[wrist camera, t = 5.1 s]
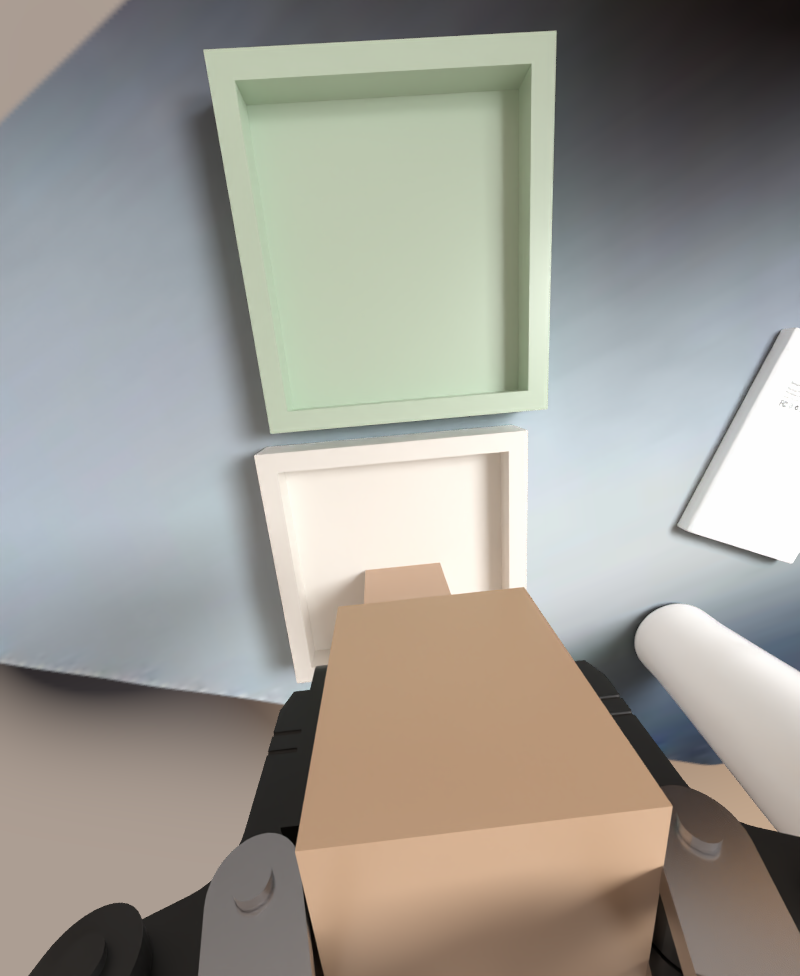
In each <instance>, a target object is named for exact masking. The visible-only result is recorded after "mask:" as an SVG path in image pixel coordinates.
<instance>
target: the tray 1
mask: <svg viewBox="0 0 800 976" xmlns="http://www.w3.org/2000/svg"><path fill="white" fill-rule="evenodd" d="M203 51H204V56H205V62H206V68H207V73H208V79H209V85H210V91H211V96H212V102H213V108H214V113H215V119H216V125H217V131H218V136H219V142H220V148H221V154H222V159H223V165H224V171H225V176H226V182H227V188H228V194H229V199H230V205H231V211H232V216H233V222H234V228H235V234H236V239H237V245H238V251H239V256H240V262H241V268H242V274H243V279H244V285H245V291H246V297H247V302H248V308H249V314H250V319H251V325H252V331H253V337H254V342H255V348H256V354H257V359H258V365H259V371H260V377H261V382H262V388H263V394H264V399H265V405H266V411H267V417H268V422H269V428H270V434H275V433H286V432H298V431H309V430H320V429H331V428H342V427H353V426H365V425H376V424H387V423H398V422H409V421H420V420H431V419H443V418H454V417H465V416H476V415H487V414H498V413H510V412H521V411H532V410H543V409H548V367H549V325H550V283H551V241H552V199H553V157H554V115H555V73H556V31H541V32H523V33H504V34H486V35H467V36H449V37H430V38H411V39H393V40H374V41H356V42H337V43H319V44H300V45H282V46H263V47H244V48H226V49H207V50H203Z"/></svg>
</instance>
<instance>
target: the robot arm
mask: <svg viewBox="0 0 800 976" xmlns="http://www.w3.org/2000/svg"><path fill="white" fill-rule="evenodd" d="M575 663H576V664H577V666H578V667H579V669H580V670H581V672H582V673H583V675H584V676H585V678H586V679H587V681H588V682H589V684H590V685H591V687H592V688H593V689H594V691H595V692H596V694H597V695H598V697H599V698H600V700H601V701H602V703H603V704H604V706H605V707H606V709H607V710H608V712H609V713H610V715H611V716H612V717H613V719H614V720H615V722H616V723H617V725H618V726H619V728H620V729H621V731H622V732H623V734H624V735H625V737H626V738H627V740H628V741H629V743H630V744H631V745H632V747H633V748H634V750H635V751H636V753H637V754H638V756H639V757H640V759H641V760H642V762H643V763H644V765H645V766H646V768H647V769H648V770H649V772H650V773H651V775H652V776H653V778H654V779H655V781H656V782H657V784H658V785H659V787H660V788H661V790H662V791H663V793H664V794H665V796H666V797H667V798H668V800H669V801H670V803H671V804H672V806H673V808H672V815H671V821H670V828H669V834H668V841H667V847H666V854H665V860H664V866H662V872H661V878H660V885H659V892H660V893H659V899H658V906H657V912H656V919H655V925H654V932H653V938H652V945H651V951H650V958H649V960H648V964H647V970H646V976H800V837H799V836H794V835H790V834H785V833H781V832H776V831H771V830H767V829H762V828H758V827H754V826H750V825H747V824H744V823H742V822H739V821H738V820H737V819H736V818H735V817H734V816H733V815H732V814H731V813H730V812H729V811H728V810H727V809H726V808H725V807H723V806H722V805H721V804H719V803H718V802H716V801H715V800H714V799H712V798H710V797H709V796H707V795H705V794H703V793H701V792H699V791H696V790H694V789H691V788H690V787H689V786H688V785H687V784H686V783H685V781H684V780H683V779H682V777H681V776H680V775H679V773H678V772H677V771H676V770H675V768H674V767H673V765H672V764H671V763H670V761H669V760H668V759H667V757H666V756H665V755H664V753H663V752H662V751H661V749H660V748H659V747H658V745H657V744H656V743H655V741H654V740H653V739H652V737H651V736H650V735H649V733H648V732H647V731H646V729H645V728H644V727H643V725H642V724H641V723H640V721H639V720H638V719H637V717H636V716H635V715H633V714H632V712H631V709H630V708H629V707H628V705H627V704H626V703H625V701H624V700H623V699H622V698H620V696H619V693H618V692H617V691H616V689H615V688H614V687H613V685H612V684H611V683H610V681H609V680H608V679H607V677H606V676H605V675H604V674H603V673H601V672H600V671H599V670H597V669H596V668H594V667H593V666H592V665H590V664H589V663H588V662H586V661H585V660H582V661H575ZM327 667H328V665H321V666H316V667H315V670H314V675H313V679H312V684H311V688H310V690H305V691H296V692H294V693H293V694H292V695H291V697H290V698H289V699H288V701H287V702H286V703H285V705H284V706H283V708H282V709H281V710H280V713H279V716H278V720H277V723H276V726H275V730H274V737H272V740H271V743H270V747H269V751H268V752H269V753H268V756H267V757H266V761H265V764H264V768H263V771H262V774H261V778H260V781H259V784H258V788H257V791H256V795H255V798H254V801H253V805H252V809H251V812H250V815H249V819H248V822H247V825H246V829H245V832H244V835H243V838H242V840H241V842H240V844H239V846H238V847H236V848H235V849H234V850H233V851H232V852H231V853H230V854H229V855H228V856H227V857H226V859H225V860H224V861H223V862H222V864H221V865H220V867H219V868H218V870H217V871H216V873H215V875H214V877H213V879H212V881H210V882H209V883H208V884H207V885H205V886H204V887H203V888H201V889H200V890H198V891H197V892H195V893H193V894H192V895H190V896H188V897H186V898H184V899H182V900H180V901H178V902H176V903H174V904H172V905H170V906H168V907H166V908H164V909H162V910H160V911H158V912H156V913H154V914H152V915H150V916H148V917H146V918H144V919H142V918H141V916H140V914H139V912H138V911H137V910H136V909H135V908H134V907H133V906H131V905H129V904H125V903H113V904H109V905H106V906H103V907H101V908H99V909H96V910H94V911H93V912H91V913H89V914H88V915H86V916H84V917H83V918H82V919H80V920H79V921H78V922H76V923H75V924H74V925H73V926H71V927H70V928H69V929H68V930H67V931H66V932H65V933H64V934H63V935H62V936H61V937H60V938H59V939H58V940H57V941H56V942H55V943H54V944H53V945H52V946H51V948H50V949H49V950H48V951H47V952H46V954H45V955H44V956H43V957H42V959H41V960H40V961H39V963H38V964H37V965H36V967H35V968H34V969H33V970H32V972H31V973H30V975H29V976H324V973H323V969H322V965H321V960H320V956H319V952H318V948H317V943H316V939H315V935H314V931H313V926H312V922H311V918H310V914H309V909H308V905H307V901H306V897H305V892H304V888H303V884H302V880H301V875H300V871H299V867H298V863H297V859H296V854H295V848H296V843H297V837H298V831H299V826H300V820H301V814H302V809H303V803H304V797H305V791H306V786H307V780H308V774H309V769H310V763H311V757H312V752H313V746H314V740H315V735H316V729H317V723H318V718H319V712H320V706H321V701H322V695H323V689H324V684H325V678H326V672H327Z"/></svg>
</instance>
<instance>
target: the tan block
mask: <svg viewBox="0 0 800 976" xmlns="http://www.w3.org/2000/svg"><path fill="white" fill-rule="evenodd" d="M443 595H451V593H450V590H449V587H448V584H447V581H446V579H445V576H444V573H443V570H442V567H441V564H440V563H430V564H420V565H411V566H401V567H391V568H381V569H372V570H365V589H364V604H367V603H377V602H386V601H396V600H405V599H415V598H424V597H434V596H443Z"/></svg>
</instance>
